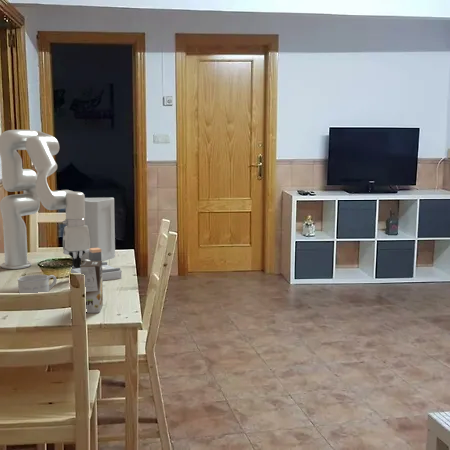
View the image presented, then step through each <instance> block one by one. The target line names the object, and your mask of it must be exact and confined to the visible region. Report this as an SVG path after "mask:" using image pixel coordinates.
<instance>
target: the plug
mask: <svg viewBox="0 0 450 450" xmlns="http://www.w3.org/2000/svg"><path fill="white" fill-rule="evenodd" d="M89 250H90V251H89V260H90V261H101V252H102V249H100V248H90V249H89Z"/></svg>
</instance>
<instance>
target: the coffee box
mask: <svg viewBox="0 0 450 450" xmlns="http://www.w3.org/2000/svg"><path fill="white" fill-rule="evenodd" d="M102 262H103V261H83V262H82V263H81V266H80V269H81V274H84V275H85V287H86V309H87V313H86V314H88V313H89V314H92V313H95V314H98V313H101V311H102V308H103V305H104V299H103V298H104V295H103V294H104V293H103V290H104V289H103V281H102Z"/></svg>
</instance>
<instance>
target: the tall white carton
mask: <svg viewBox="0 0 450 450" xmlns="http://www.w3.org/2000/svg"><path fill="white" fill-rule="evenodd" d="M85 225H87V226H88V231H89V237H90V248H100V249H102V252H101V261H102V262H106V261H108V260H111V259H114V258H116V239H115V238H116V233H115V230H116V229H115V198H114V197H85ZM75 252H76V257H77V251H75ZM86 259H88V260H89V252H87V253H84V254H83V256H82V258H81V262H82V261H83V262H84V261H85V260H86Z"/></svg>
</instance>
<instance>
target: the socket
mask: <svg viewBox="0 0 450 450" xmlns="http://www.w3.org/2000/svg"><path fill="white" fill-rule="evenodd" d="M81 265H82V264H81ZM81 265H80V266H81ZM71 266H72V269H71V273H81V269H80V268H75V267H74V266H73V265H71ZM102 266H103V267H105V268H106V270H102V282H103V281H112V280H117V279H122V270H121V267H113V266H111V265H110V264H108V262H107V261H102Z"/></svg>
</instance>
